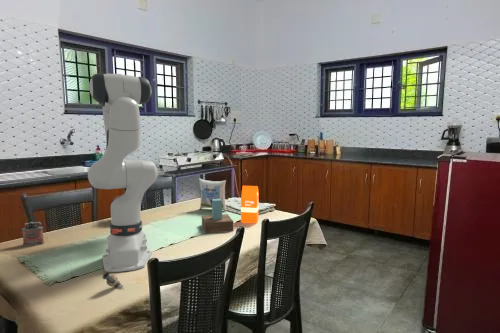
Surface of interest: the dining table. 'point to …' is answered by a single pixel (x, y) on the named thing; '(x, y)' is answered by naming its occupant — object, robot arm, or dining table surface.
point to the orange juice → (249, 204)
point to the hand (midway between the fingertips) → (164, 171)
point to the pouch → (212, 193)
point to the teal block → (216, 209)
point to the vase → (112, 280)
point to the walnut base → (217, 224)
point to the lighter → (32, 234)
